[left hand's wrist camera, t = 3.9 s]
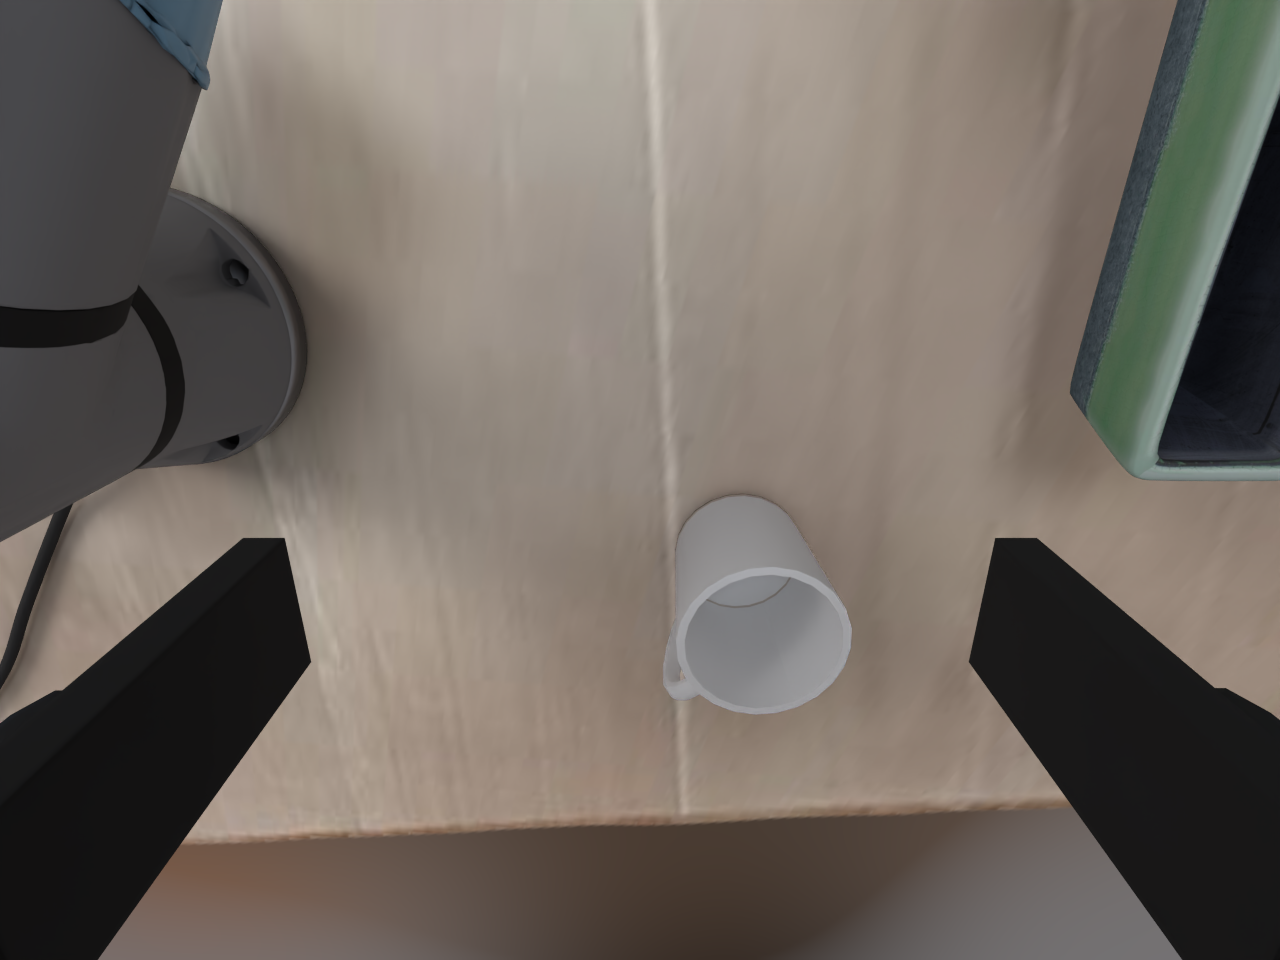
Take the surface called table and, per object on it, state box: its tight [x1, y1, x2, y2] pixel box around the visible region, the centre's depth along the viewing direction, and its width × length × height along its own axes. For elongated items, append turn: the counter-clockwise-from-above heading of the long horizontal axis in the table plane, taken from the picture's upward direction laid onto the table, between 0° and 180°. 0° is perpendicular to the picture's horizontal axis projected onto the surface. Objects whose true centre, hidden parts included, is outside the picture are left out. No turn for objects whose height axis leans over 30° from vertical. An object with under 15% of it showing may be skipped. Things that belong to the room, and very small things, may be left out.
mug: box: [663, 494, 852, 714], centre depth 40 cm, size 11×9×10 cm
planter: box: [1070, 0, 1280, 481], centre depth 25 cm, size 28×7×7 cm, turn 0°
